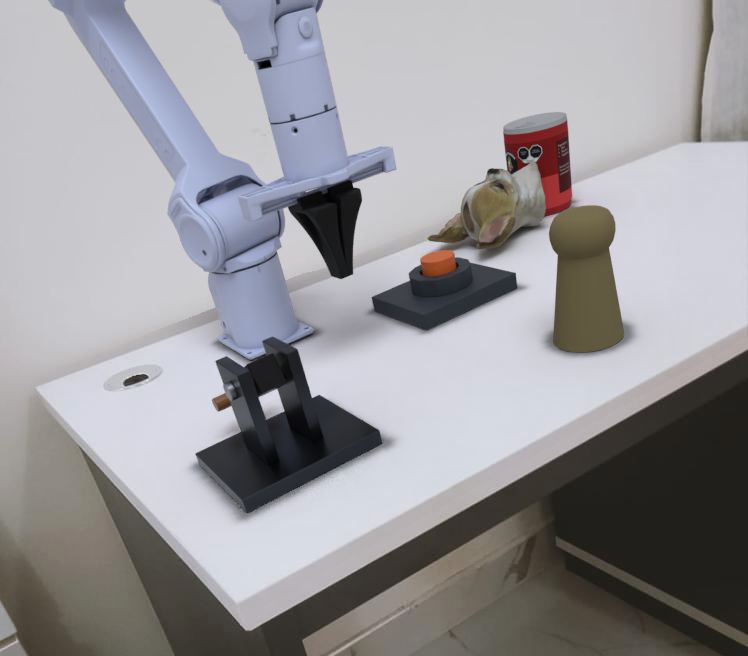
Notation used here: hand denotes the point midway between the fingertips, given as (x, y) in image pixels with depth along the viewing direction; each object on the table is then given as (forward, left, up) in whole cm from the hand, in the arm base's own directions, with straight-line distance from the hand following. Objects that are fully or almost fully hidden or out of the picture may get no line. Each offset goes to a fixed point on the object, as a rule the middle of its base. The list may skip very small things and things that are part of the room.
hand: (342, 275), depth 69 cm
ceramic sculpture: (-14, +29, -8) cm, 33 cm away
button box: (-4, +13, -8) cm, 16 cm away
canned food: (-18, +40, -8) cm, 44 cm away
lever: (+9, -14, -4) cm, 17 cm away
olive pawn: (+16, +14, -8) cm, 23 cm away
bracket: (+11, -14, -8) cm, 20 cm away
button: (-4, +13, -5) cm, 14 cm away
